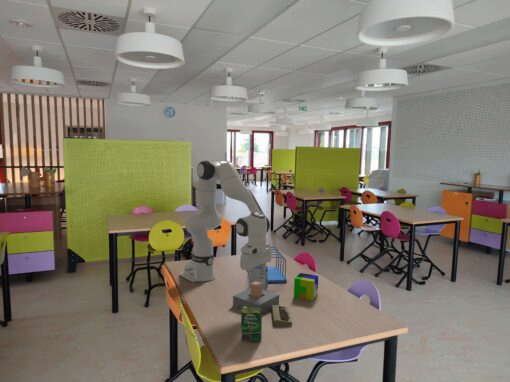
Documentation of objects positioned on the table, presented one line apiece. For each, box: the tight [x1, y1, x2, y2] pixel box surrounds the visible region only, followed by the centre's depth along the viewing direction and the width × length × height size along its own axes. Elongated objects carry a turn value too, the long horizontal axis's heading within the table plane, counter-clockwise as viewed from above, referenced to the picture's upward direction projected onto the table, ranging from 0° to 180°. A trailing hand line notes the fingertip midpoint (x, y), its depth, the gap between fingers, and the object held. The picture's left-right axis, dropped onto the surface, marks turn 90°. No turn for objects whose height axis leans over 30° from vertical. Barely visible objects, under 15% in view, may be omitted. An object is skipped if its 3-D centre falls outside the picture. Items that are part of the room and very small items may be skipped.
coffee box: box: [240, 306, 263, 343], centre depth 141 cm, size 8×3×13 cm, turn 76°
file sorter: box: [267, 246, 288, 284], centre depth 216 cm, size 25×17×15 cm
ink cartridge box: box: [247, 265, 269, 291], centre depth 196 cm, size 10×6×14 cm, turn 78°
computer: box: [270, 304, 293, 327], centre depth 161 cm, size 16×8×3 cm, turn 1°
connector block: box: [251, 281, 262, 299], centre depth 174 cm, size 4×4×10 cm
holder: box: [232, 288, 280, 315], centre depth 174 cm, size 16×16×5 cm
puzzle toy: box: [293, 272, 319, 301], centre depth 188 cm, size 10×10×10 cm
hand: (256, 274), depth 173 cm, fingers open, 8 cm apart
